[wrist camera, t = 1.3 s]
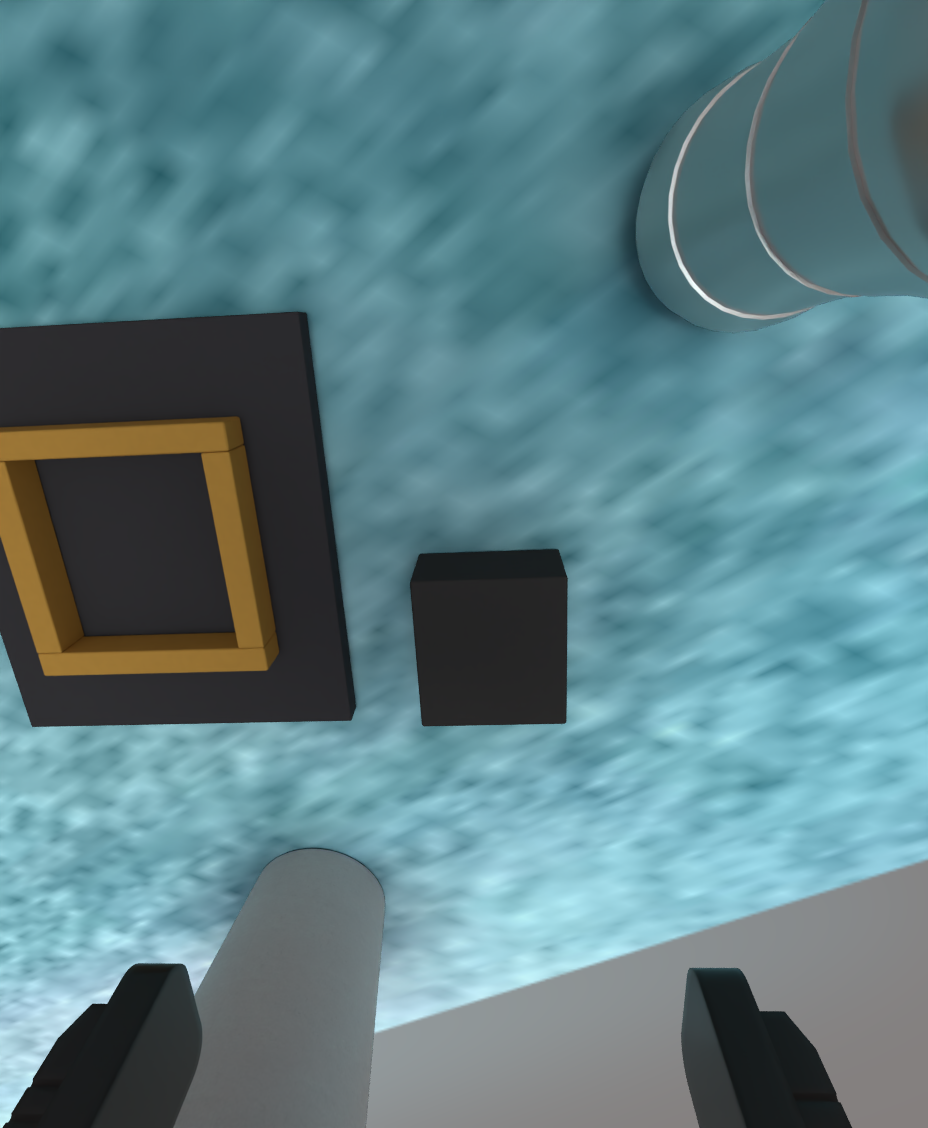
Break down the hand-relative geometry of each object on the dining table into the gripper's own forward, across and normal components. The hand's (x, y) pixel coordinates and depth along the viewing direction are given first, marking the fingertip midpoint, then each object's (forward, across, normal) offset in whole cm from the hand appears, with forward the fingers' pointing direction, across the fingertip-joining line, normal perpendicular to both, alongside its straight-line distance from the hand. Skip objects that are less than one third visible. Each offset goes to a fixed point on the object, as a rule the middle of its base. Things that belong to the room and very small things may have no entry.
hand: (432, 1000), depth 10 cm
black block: (+16, -1, +1) cm, 16 cm away
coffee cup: (+17, +8, +16) cm, 24 cm away
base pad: (+16, +12, -3) cm, 21 cm away
